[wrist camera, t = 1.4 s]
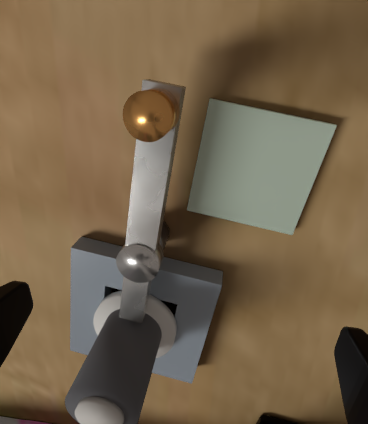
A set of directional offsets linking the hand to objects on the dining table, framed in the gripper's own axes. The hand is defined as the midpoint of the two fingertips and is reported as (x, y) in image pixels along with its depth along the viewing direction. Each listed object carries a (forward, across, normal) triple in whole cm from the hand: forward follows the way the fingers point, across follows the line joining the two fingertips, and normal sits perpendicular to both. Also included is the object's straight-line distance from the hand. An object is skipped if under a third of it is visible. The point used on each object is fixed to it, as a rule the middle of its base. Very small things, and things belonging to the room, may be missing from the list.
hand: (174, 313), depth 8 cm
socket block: (+12, +5, +12) cm, 17 cm away
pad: (+12, -3, -1) cm, 12 cm away
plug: (+12, +5, +12) cm, 17 cm away
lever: (+12, +3, +2) cm, 12 cm away
